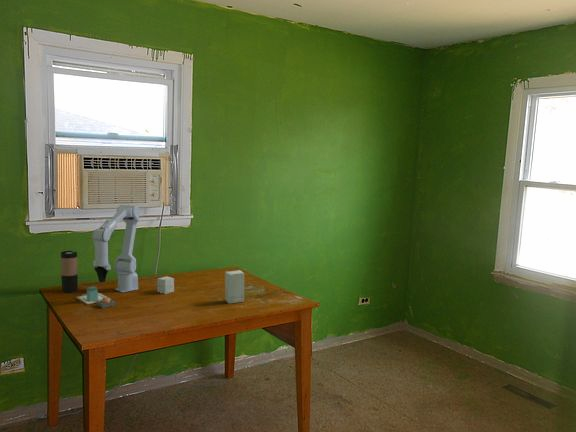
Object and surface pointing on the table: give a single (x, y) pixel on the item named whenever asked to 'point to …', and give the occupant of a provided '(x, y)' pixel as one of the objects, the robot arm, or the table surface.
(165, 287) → the skincare box
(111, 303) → the button housing
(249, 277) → the table surface
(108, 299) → the button
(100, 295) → the clipboard with paper sheet
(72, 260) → the travel mug
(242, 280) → the skincare box
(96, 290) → the teal banded box
